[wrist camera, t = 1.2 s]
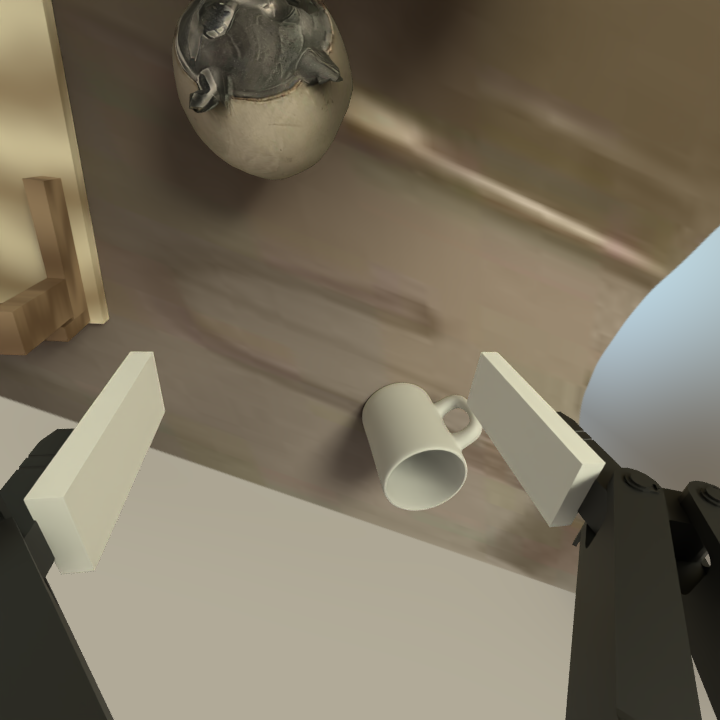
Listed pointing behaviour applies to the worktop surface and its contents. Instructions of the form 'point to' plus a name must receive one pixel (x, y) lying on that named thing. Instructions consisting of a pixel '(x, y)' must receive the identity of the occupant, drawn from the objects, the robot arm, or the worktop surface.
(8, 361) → the worktop surface
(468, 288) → the worktop surface
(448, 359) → the worktop surface
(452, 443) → the mug
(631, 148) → the worktop surface
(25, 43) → the rail board
